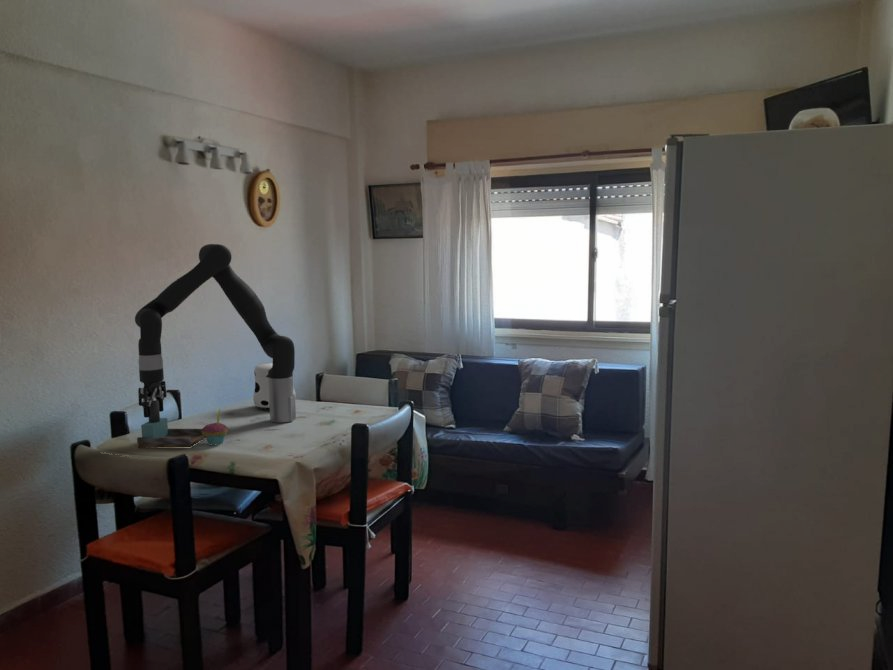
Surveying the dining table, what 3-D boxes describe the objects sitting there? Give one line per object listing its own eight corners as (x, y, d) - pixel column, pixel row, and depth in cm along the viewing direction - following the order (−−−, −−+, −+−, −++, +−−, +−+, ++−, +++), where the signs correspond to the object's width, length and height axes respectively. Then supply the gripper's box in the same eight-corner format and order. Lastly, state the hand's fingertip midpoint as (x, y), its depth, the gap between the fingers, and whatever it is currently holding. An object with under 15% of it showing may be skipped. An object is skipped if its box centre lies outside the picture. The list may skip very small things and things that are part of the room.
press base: (206, 438, 232) (205, 428, 231) (190, 448, 219) (189, 438, 219) (156, 438, 233) (155, 428, 233) (137, 448, 220) (137, 438, 220)
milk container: (291, 412, 271) (289, 368, 269) (248, 412, 271) (246, 369, 269) (299, 402, 288) (298, 362, 286) (260, 403, 288) (258, 362, 286)
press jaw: (168, 434, 231) (165, 398, 230) (153, 442, 221) (151, 404, 220) (157, 434, 231) (154, 398, 230) (142, 442, 221) (139, 404, 220)
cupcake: (230, 439, 230) (228, 406, 229) (226, 446, 222) (224, 411, 220) (204, 441, 229) (202, 407, 227) (199, 447, 220) (197, 412, 219)
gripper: (151, 371, 216) (154, 419, 218) (171, 364, 230) (174, 409, 232) (129, 371, 217) (132, 419, 218) (150, 364, 231) (153, 409, 233)
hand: (153, 414), depth 225 cm, fingers open, 8 cm apart
